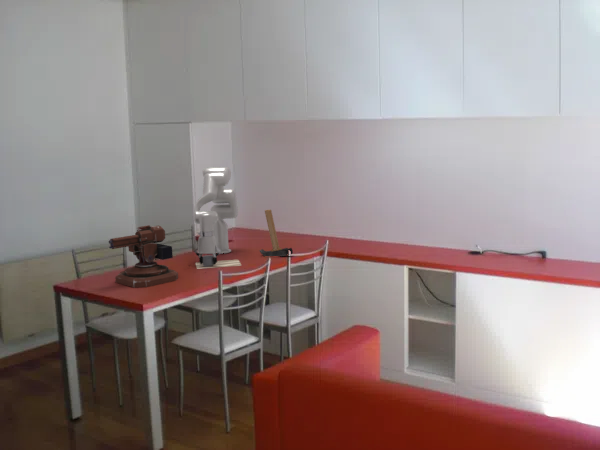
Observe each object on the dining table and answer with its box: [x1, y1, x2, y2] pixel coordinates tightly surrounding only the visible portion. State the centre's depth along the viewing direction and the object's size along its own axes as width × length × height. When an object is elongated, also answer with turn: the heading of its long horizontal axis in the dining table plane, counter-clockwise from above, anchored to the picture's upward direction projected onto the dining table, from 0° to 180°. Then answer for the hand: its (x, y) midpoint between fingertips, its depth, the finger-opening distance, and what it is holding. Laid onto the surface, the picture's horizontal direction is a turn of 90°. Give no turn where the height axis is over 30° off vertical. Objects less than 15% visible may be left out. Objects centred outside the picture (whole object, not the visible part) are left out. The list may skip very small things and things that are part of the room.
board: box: [195, 259, 242, 270], centre depth 416 cm, size 18×26×6 cm
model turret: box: [108, 225, 179, 288], centre depth 381 cm, size 28×35×30 cm
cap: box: [202, 254, 214, 266], centre depth 412 cm, size 7×7×5 cm
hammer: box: [258, 209, 293, 257], centre depth 439 cm, size 20×5×30 cm, turn 70°
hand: (208, 263), depth 412 cm, fingers open, 7 cm apart
